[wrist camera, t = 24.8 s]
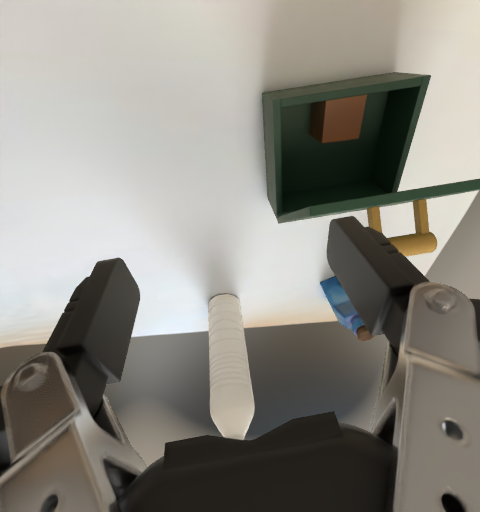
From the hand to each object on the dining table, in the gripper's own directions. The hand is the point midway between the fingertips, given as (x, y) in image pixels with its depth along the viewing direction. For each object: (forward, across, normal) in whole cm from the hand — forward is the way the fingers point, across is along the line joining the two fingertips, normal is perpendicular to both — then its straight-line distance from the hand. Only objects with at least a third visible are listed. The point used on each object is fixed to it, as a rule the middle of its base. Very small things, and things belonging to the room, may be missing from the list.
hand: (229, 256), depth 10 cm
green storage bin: (+27, -14, +6) cm, 31 cm away
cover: (+14, -14, +8) cm, 22 cm away
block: (+26, -14, +2) cm, 30 cm away
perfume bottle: (+26, -20, +35) cm, 48 cm away
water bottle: (+27, +3, +34) cm, 43 cm away
